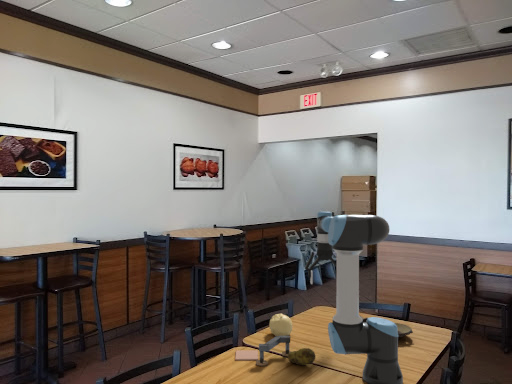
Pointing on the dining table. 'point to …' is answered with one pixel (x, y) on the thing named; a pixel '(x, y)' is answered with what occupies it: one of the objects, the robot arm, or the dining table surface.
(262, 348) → the rail
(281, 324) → the cream lumpy ball
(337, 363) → the dining table surface
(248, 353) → the plate
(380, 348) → the robot arm
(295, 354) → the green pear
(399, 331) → the oil lamp
